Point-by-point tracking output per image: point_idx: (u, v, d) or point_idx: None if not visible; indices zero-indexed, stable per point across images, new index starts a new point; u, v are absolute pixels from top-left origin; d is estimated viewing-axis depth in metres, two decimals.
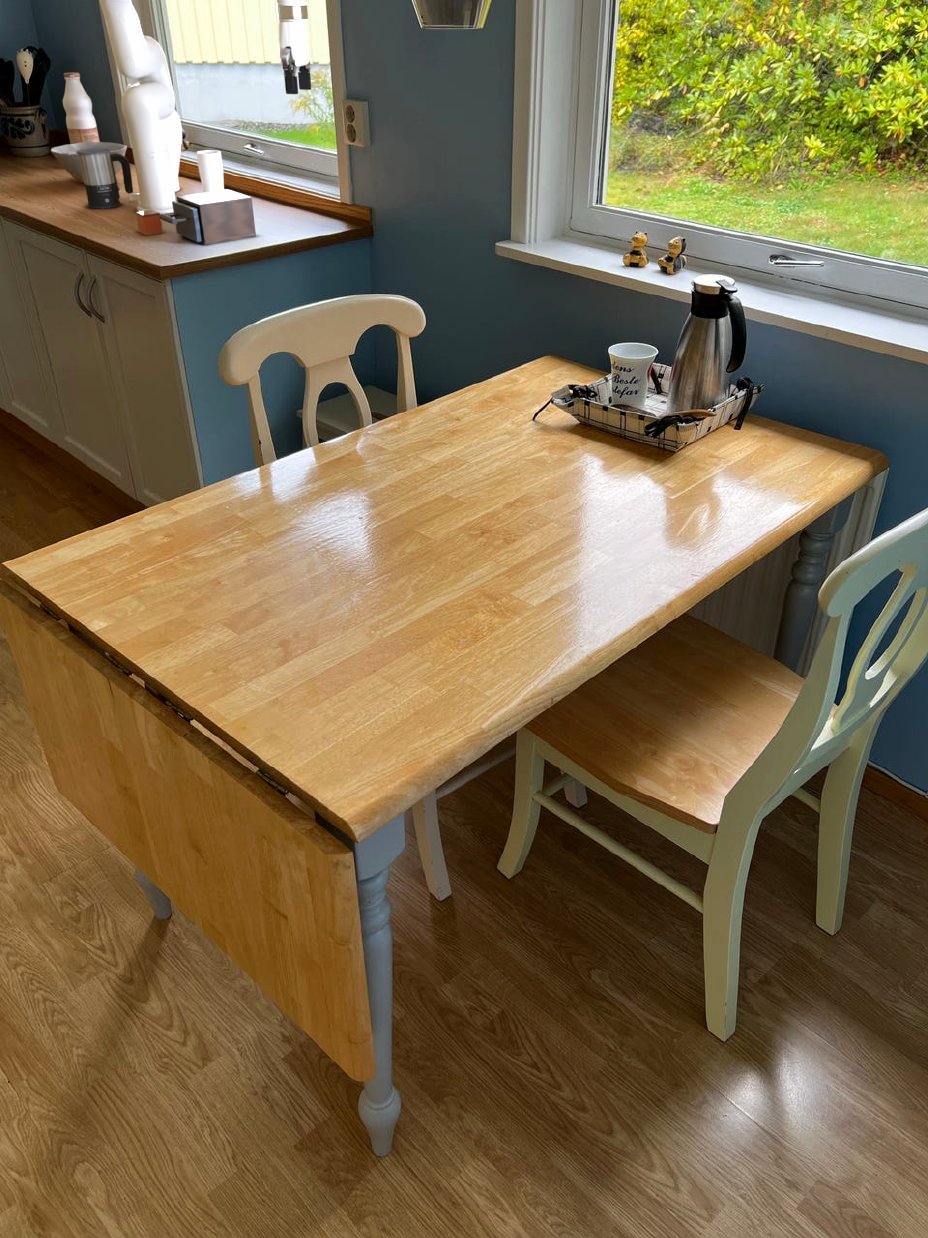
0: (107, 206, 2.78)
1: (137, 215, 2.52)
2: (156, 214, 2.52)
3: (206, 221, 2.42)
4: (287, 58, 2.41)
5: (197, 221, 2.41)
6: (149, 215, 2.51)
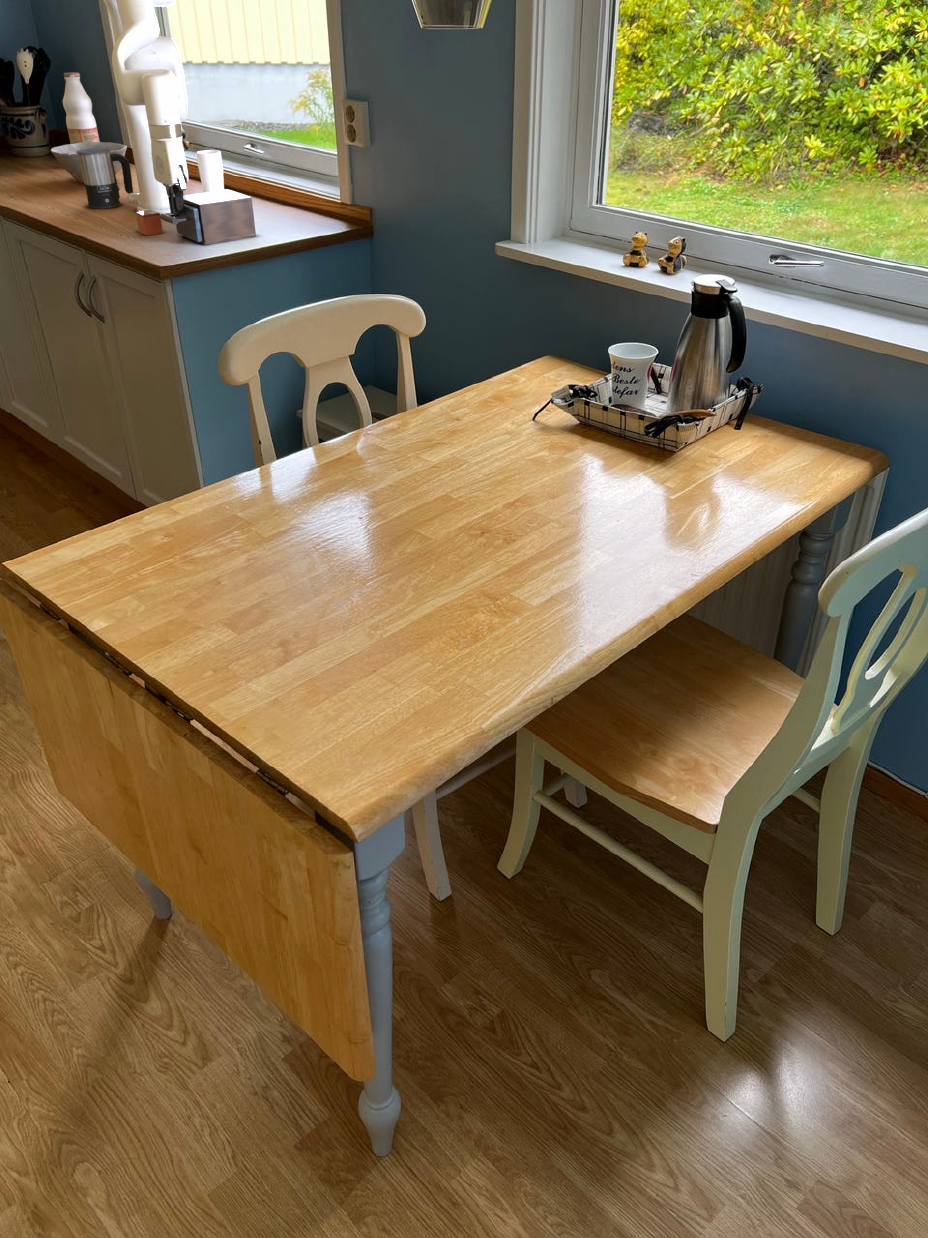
0: (107, 206, 2.78)
1: (137, 215, 2.52)
2: (156, 214, 2.52)
3: (206, 221, 2.42)
4: None
5: (198, 221, 2.41)
6: (149, 215, 2.51)
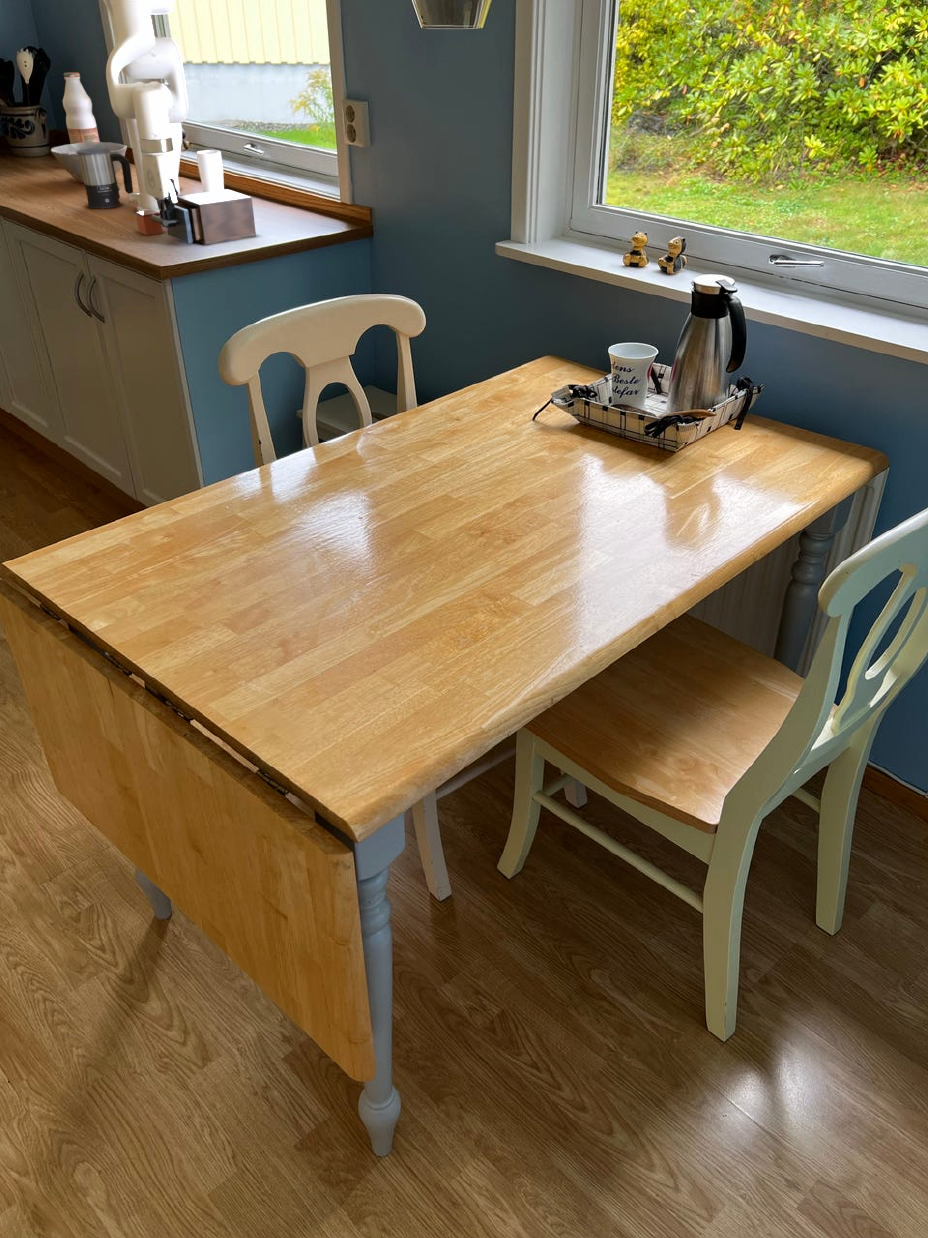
0: (107, 206, 2.78)
1: (137, 215, 2.52)
2: (156, 214, 2.52)
3: (206, 221, 2.42)
4: None
5: (188, 222, 2.40)
6: (149, 215, 2.51)
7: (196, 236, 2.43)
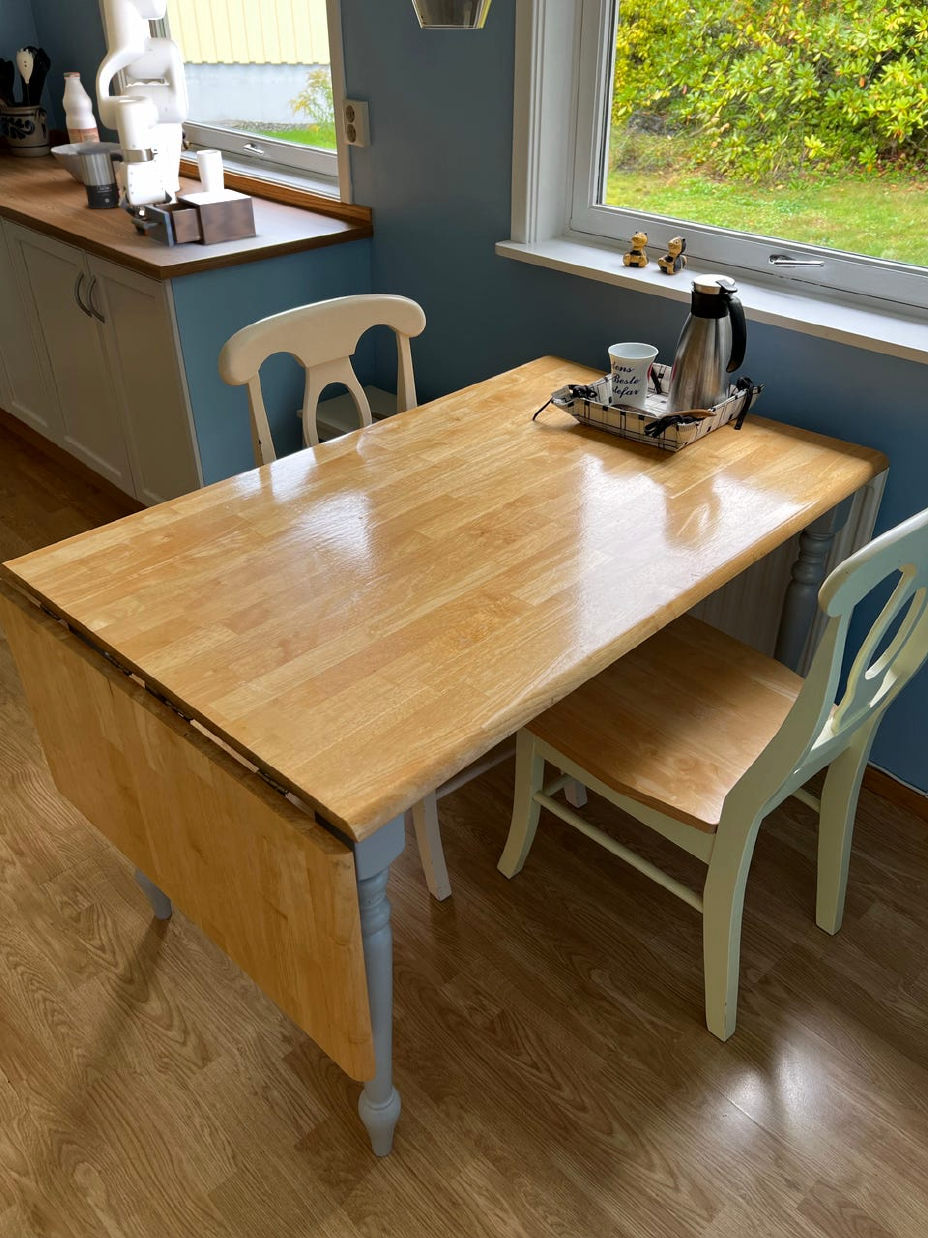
0: (107, 206, 2.78)
1: None
2: None
3: (206, 221, 2.42)
4: (123, 204, 2.47)
5: (169, 225, 2.37)
6: None
7: (177, 239, 2.41)
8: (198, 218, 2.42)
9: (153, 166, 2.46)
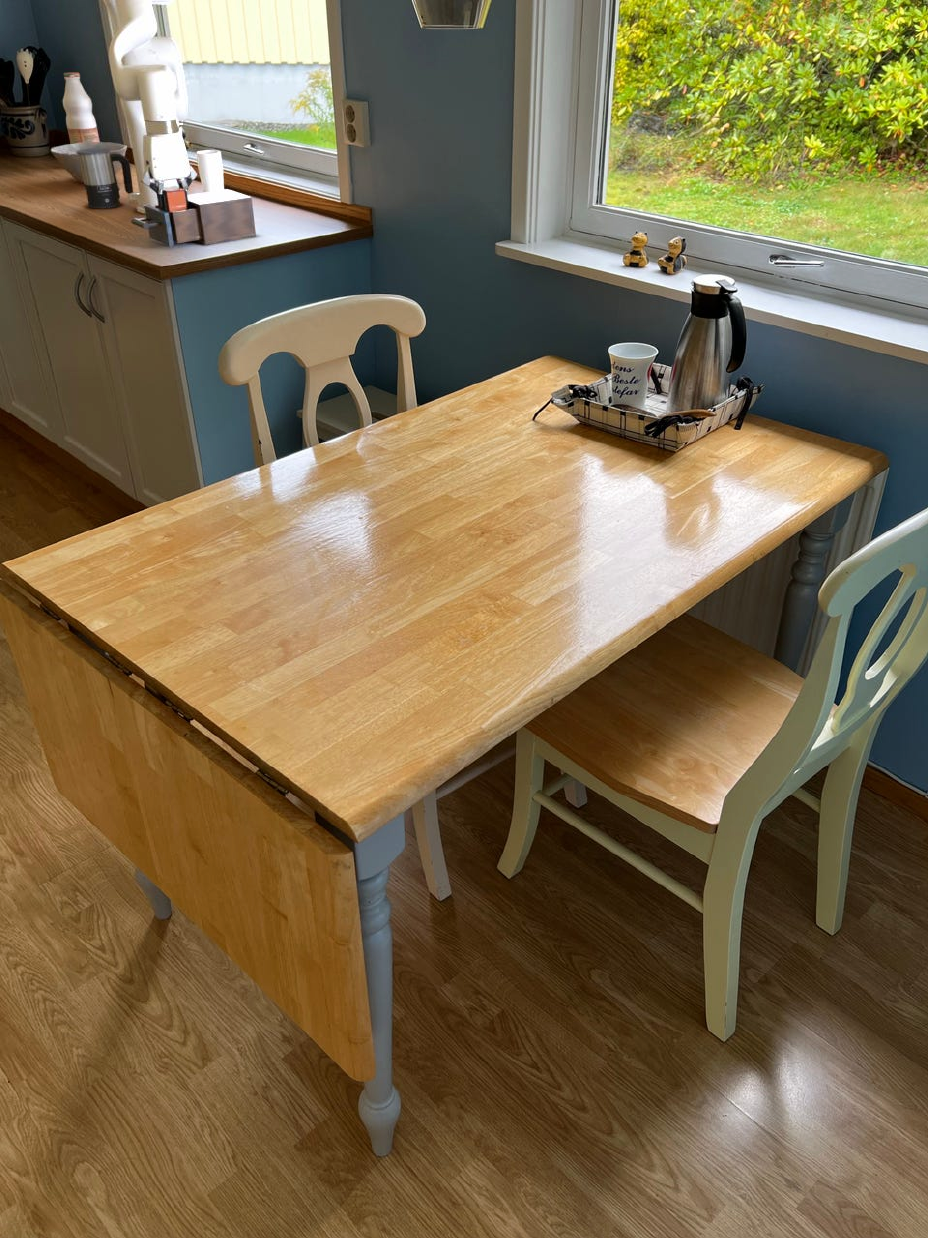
0: (107, 206, 2.78)
1: None
2: (180, 190, 2.38)
3: (206, 221, 2.42)
4: (146, 179, 2.34)
5: (169, 225, 2.37)
6: (173, 191, 2.37)
7: (177, 239, 2.41)
8: (198, 218, 2.42)
9: (178, 139, 2.33)
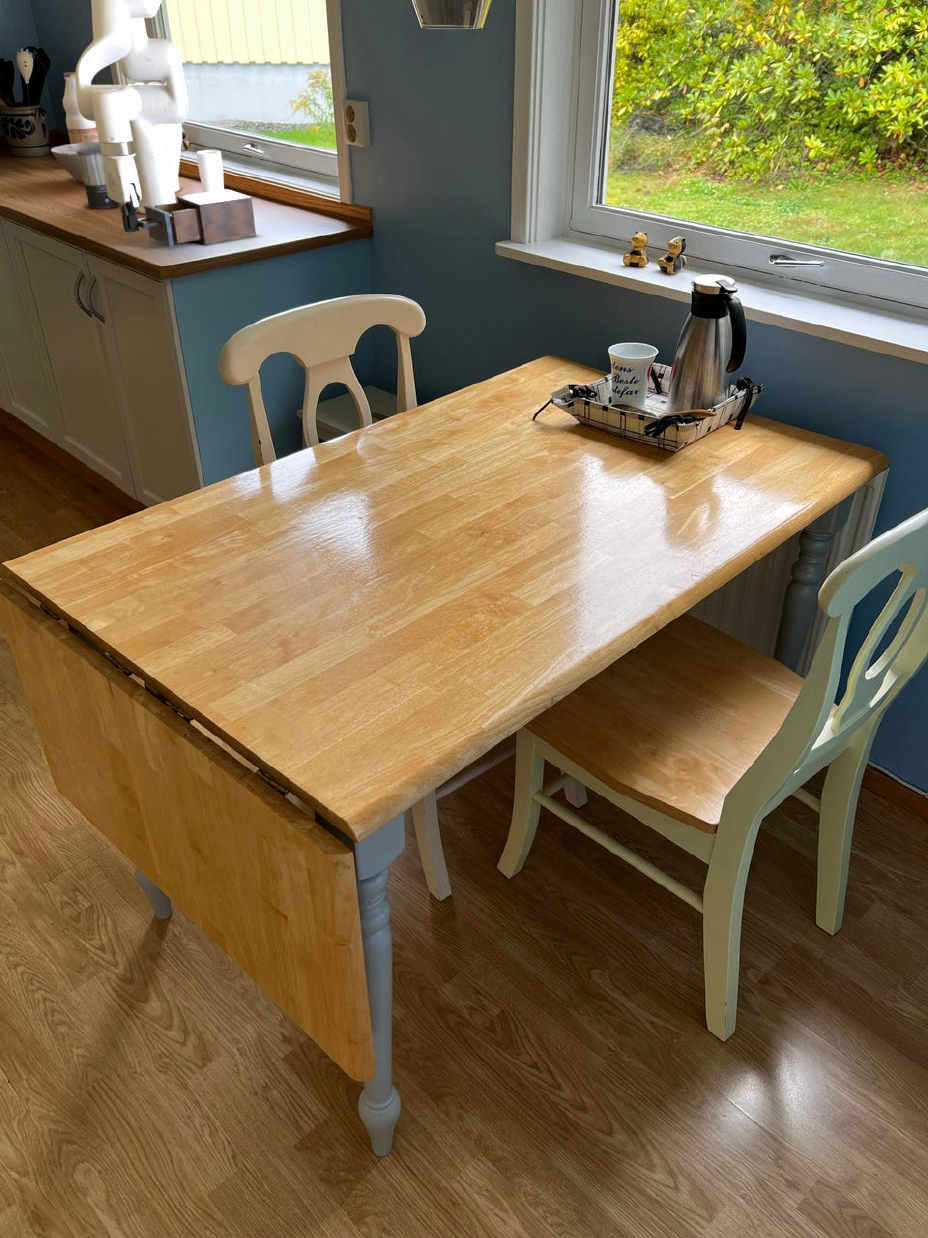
0: (107, 206, 2.78)
1: None
2: None
3: (206, 221, 2.42)
4: None
5: (169, 225, 2.37)
6: None
7: (177, 239, 2.41)
8: (198, 218, 2.42)
9: None
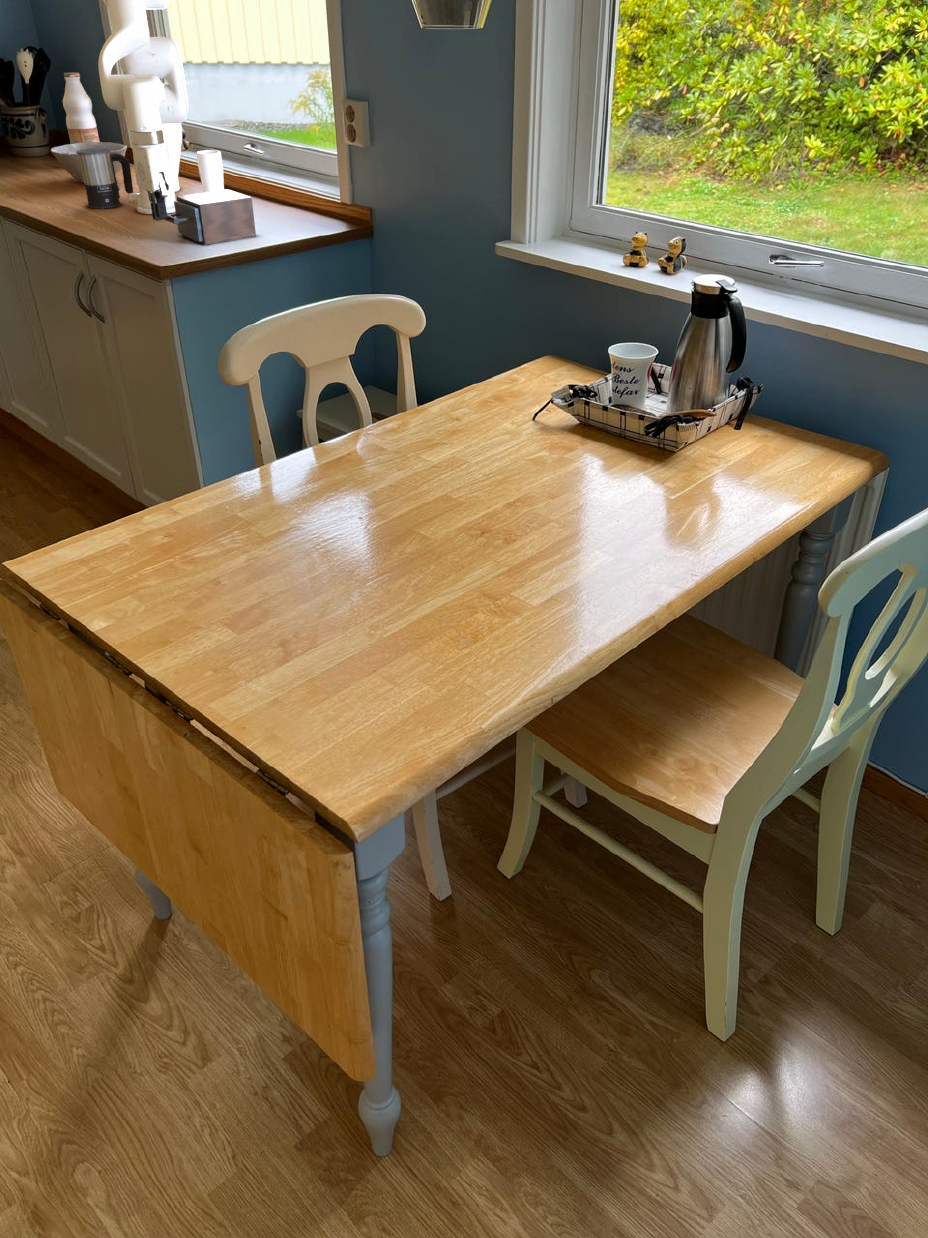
0: (107, 206, 2.78)
1: None
2: None
3: (206, 221, 2.42)
4: None
5: (199, 221, 2.41)
6: None
7: None
8: None
9: None
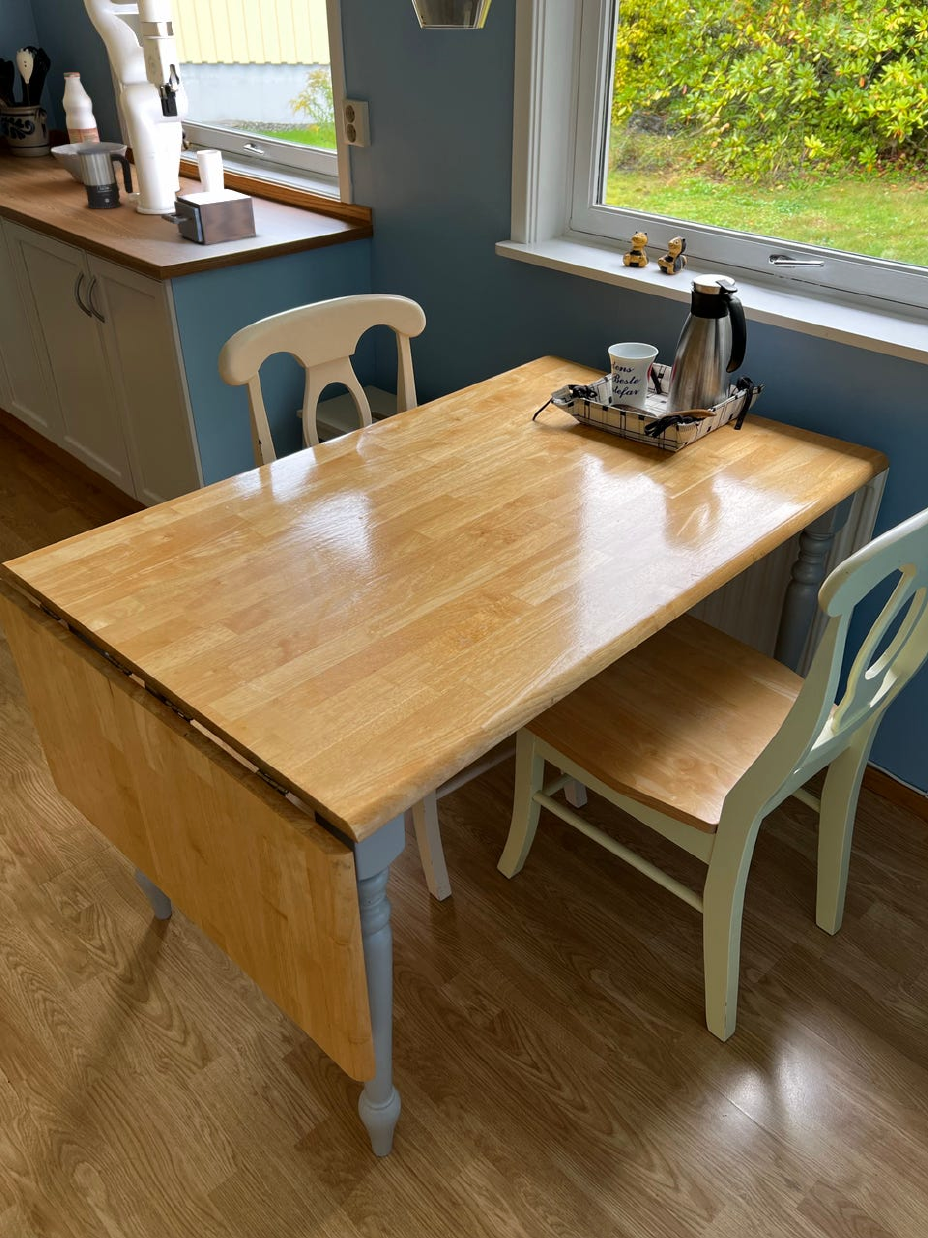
0: (107, 206, 2.78)
1: None
2: None
3: (206, 221, 2.42)
4: None
5: (199, 221, 2.41)
6: None
7: None
8: None
9: None
